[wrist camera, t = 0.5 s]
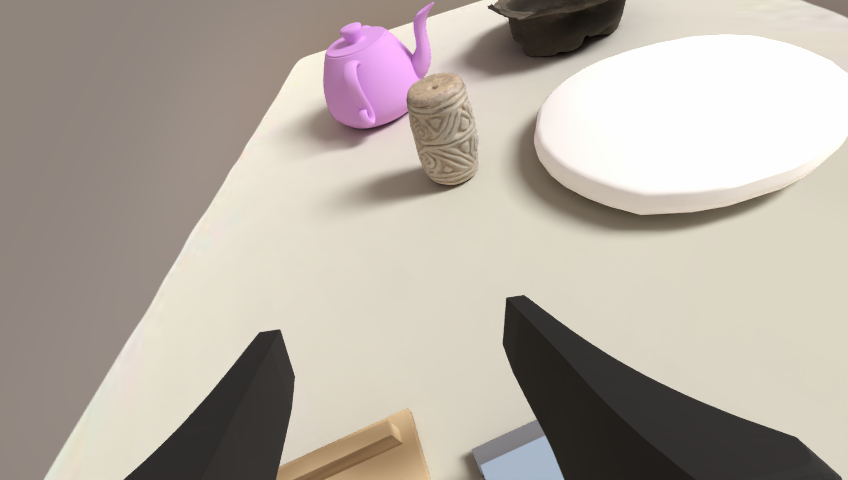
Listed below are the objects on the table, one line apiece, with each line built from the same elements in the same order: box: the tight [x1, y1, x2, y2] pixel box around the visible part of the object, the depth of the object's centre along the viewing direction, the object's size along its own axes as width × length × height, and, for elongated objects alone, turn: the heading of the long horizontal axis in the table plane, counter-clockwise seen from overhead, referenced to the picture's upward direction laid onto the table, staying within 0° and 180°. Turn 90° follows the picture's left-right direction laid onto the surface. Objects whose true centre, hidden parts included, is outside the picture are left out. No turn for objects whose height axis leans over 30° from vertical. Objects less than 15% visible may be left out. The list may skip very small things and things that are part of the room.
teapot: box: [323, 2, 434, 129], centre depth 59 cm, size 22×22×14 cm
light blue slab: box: [480, 436, 564, 480], centre depth 22 cm, size 2×8×5 cm, turn 108°
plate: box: [534, 35, 848, 215], centre depth 39 cm, size 28×6×27 cm
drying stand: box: [472, 420, 545, 478], centre depth 23 cm, size 6×9×1 cm
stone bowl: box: [488, 0, 626, 56], centre depth 61 cm, size 25×25×9 cm
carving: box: [406, 73, 478, 185], centre depth 42 cm, size 6×8×12 cm
